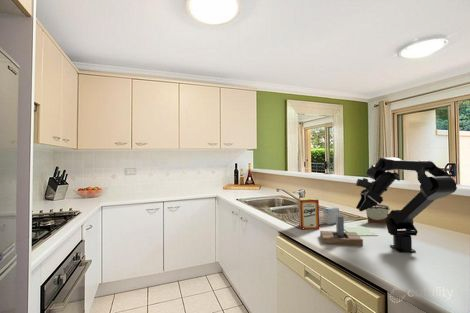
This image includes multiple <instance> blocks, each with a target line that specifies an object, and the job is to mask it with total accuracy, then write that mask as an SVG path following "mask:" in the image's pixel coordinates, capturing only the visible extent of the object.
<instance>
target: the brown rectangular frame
mask: <svg viewBox="0 0 470 313" xmlns="http://www.w3.org/2000/svg"><path fill="white" fill-rule="evenodd" d="M319 232H320V235H319V236H320V238H321V240H322V243H323V244H324V245H338V246H339V245H340V246H355V247H357V246H358V247H363V246H364V241H363V239H362V238H361V236H359V235H358V234H357V233H355V232H346V231H344V237H345V238H335V235H336V236H337V233H336V231H334V230H333V231H329V230H319Z"/></svg>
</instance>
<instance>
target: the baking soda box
mask: <svg viewBox="0 0 470 313" xmlns="http://www.w3.org/2000/svg"><path fill="white" fill-rule="evenodd" d="M297 202H298V206H297V207H298V209H297V210H298V227H299V226H300V227H299V229H301V230H320V204H319V199H318V198H316V197H298V198H297ZM303 228H304V229H303Z"/></svg>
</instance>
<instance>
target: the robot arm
mask: <svg viewBox="0 0 470 313" xmlns="http://www.w3.org/2000/svg"><path fill="white" fill-rule="evenodd" d="M399 170H402V171H403V170H404V171H412V172H413V171H415V172H416V173H417V175H416V176H417V181H418V182H419V183H420V185H419V189H420V190H419V192H418V193H417V194H416V195H414V197H413V198H412V199H411V200H410V201H409V202H408V203H407V204H405V205H404V207H402V208H401V209H392V210H390V212H388V214H387V215H388V216H387V218H386V224H385V225H386V228H387V233H388V234H389V235H391V236H392V240H393V242H392V243H393V244H389V247H390V248H392V249H394V250H395V251H396V252H398V253H417V251H416V250H415V249H413V248H412V247H413V246H412V243H413V242H412V241H413V240H412V236H417V235H418V229H417V228H416V227H415V225H414V219H415V218H416V217H417V216H418V215H419V214H421V213H422V212H423V211H424V210H425V209H427V207H429V206H430V205H431V204H433V202H434V201H436V200H439V199H441V198H444V197H448V196H450V195H451V194H453V193H455V192H456V191H457V189H458V187H457V182H456V181H455V179H454V178H453V177H452V176H451V175H450V174H449V173H448V172H447V171H445V170H443V169H442V168H440V167H439V166H437V165H436V164H435V162H433V161H432V160H409V159H406V160H404V159H401V158H398V157H396V156H395V157H394V156H393V157H380V158H378V161H377V162H376V163H375V164H371V166H370V167H369V168H368V169H367V171H366V175H367V177H368V178H370V179H371V180H373V181H371V182H369V179H368V178H365V177H364V178H362V179H361V178H357V179H356V183H355V186H357V187H361V188H363V189H362V190H361V191H360V193H359V196H360V199H359V201H358V203H357V205H356V207H355V208H356V209H357V210H358V211H359V212H364V211H366V209H368V208H371V207H373V206H375V205H378V204H380V205H381V204H382V202H383V201H384V197H383V196H382V195H383V194H384V193H385V192H387V191H388V188H390V186H391V185H392V184H393V183H394V182H395V181H399V182H400V181H401V178H400V174H399V173H398V172H396V171H399ZM391 171H395V172H391ZM426 172H428V174H430V175H432V176H428V175H427V174H426Z"/></svg>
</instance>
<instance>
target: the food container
mask: <svg viewBox="0 0 470 313" xmlns="http://www.w3.org/2000/svg"><path fill="white" fill-rule="evenodd" d="M389 211H391V209H390V207H389V205H386V204H385V205H384V204H381V203H380V204H379V203H378V205H375V206H373V207H371V208H368V209H366V210H365V212H366V219H367V224H369V225H370V224H371V225H386V218H387V216H388V215H387V214H389Z"/></svg>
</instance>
